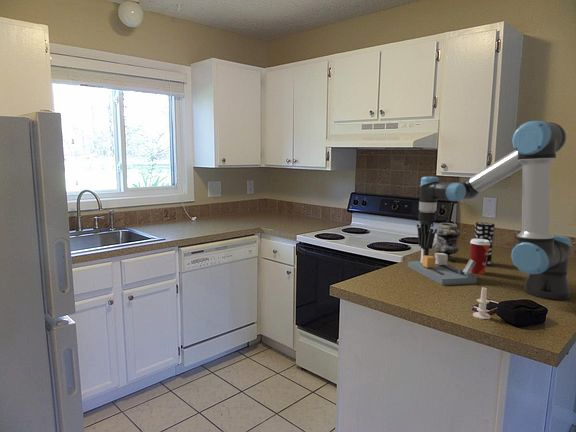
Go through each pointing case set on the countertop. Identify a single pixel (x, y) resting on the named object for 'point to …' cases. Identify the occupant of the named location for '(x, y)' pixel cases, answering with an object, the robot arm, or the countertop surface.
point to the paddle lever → (469, 266)
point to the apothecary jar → (447, 239)
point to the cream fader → (441, 258)
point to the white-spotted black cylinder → (485, 236)
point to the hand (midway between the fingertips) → (424, 262)
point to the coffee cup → (479, 255)
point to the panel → (443, 273)
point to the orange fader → (428, 261)
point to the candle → (482, 306)
